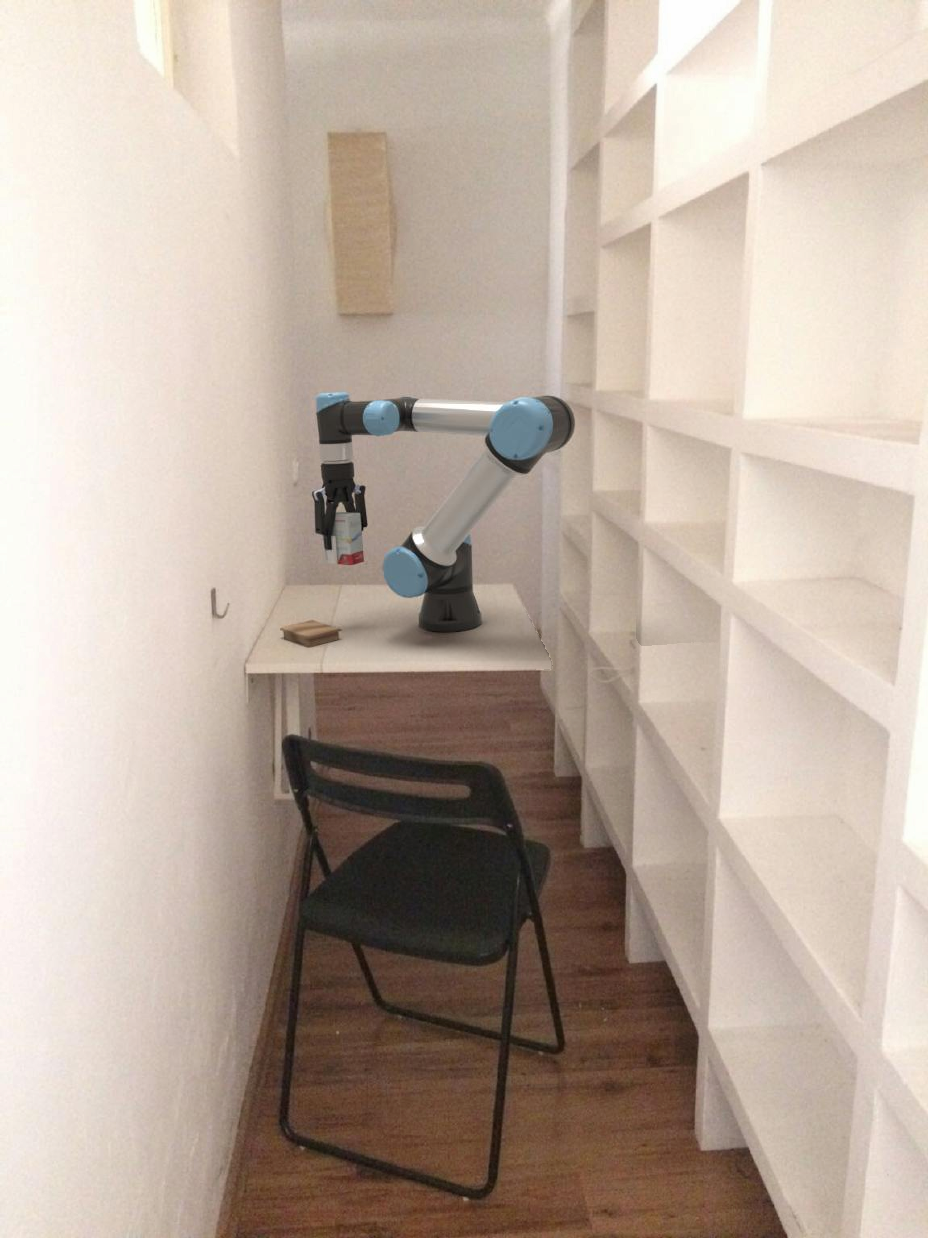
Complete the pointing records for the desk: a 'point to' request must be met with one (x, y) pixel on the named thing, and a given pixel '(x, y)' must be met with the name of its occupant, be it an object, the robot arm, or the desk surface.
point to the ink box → (347, 539)
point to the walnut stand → (311, 633)
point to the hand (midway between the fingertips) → (344, 560)
